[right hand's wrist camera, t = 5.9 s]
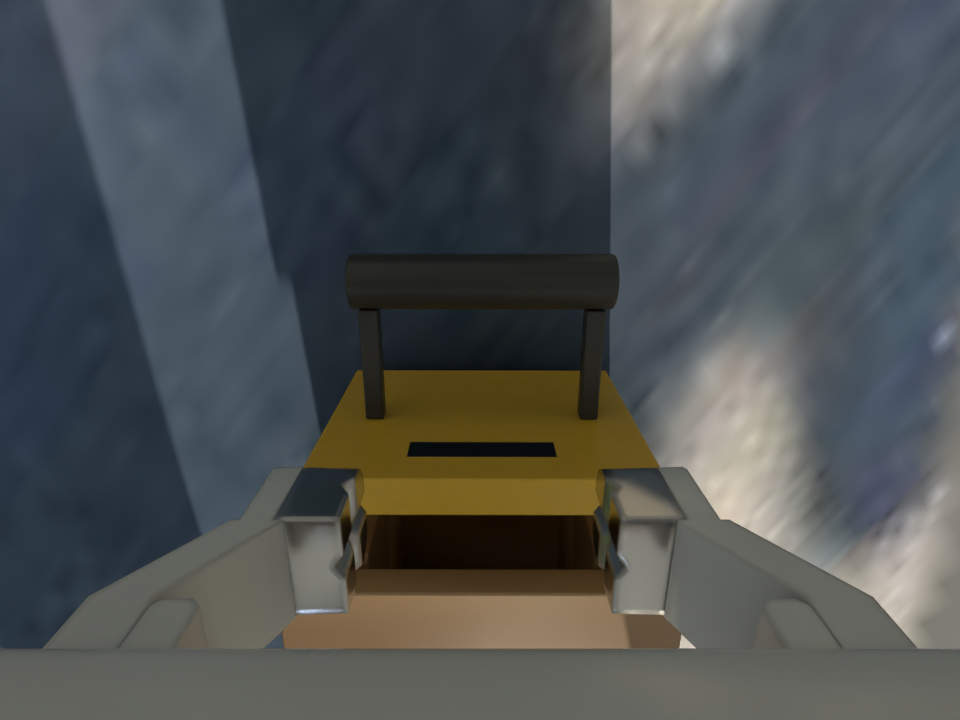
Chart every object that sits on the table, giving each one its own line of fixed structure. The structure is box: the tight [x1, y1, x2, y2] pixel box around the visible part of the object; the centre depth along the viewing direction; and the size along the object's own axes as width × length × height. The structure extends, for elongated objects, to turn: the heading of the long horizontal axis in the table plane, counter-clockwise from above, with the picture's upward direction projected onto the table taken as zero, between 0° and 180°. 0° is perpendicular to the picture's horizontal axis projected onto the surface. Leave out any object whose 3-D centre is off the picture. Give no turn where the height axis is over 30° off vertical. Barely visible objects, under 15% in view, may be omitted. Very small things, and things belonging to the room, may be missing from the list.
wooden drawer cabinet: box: [282, 569, 681, 649], centre depth 24 cm, size 20×11×10 cm, turn 0°
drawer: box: [304, 254, 660, 570], centre depth 22 cm, size 24×10×8 cm, turn 0°
